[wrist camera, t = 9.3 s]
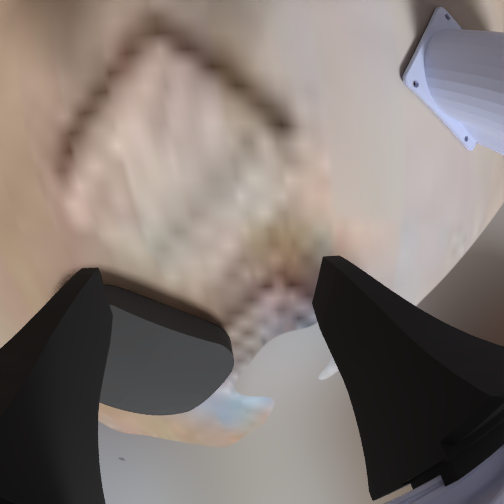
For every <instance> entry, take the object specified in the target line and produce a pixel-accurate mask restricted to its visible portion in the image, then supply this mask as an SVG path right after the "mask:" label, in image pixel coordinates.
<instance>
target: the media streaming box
mask: <svg viewBox="0 0 504 504" xmlns="http://www.w3.org/2000/svg"><path fill="white" fill-rule="evenodd" d="M104 289H105V292H106V295H107V298H108V302H109V305H110V308H111V311H112V314H113V320H112V332H111V341H110V347H109V352H108V357H107V362H106V367H105V372H104V377H103V382H102V388H101V394H100V400H99V402H100V403H102V404H105V405H108V406H111V407H114V408H117V409H121V410H125V411H129V412H134V413H139V414H146V415H173V414H179V413H184V412H188V411H190V410H192V409H194V408H195V407H197V406H198V405H200V404H201V403H203V402H204V401H205V400H206V399H208V398H209V397H210V396H211V395H212V394H213V393H214V392H215V391H216V390H217V389H218V388H219V387H220V386H221V384H222V383H223V382H224V381H225V380H226V378H227V377H228V376H229V374H230V373H231V372H232V369H233V366H234V358H233V352H232V346H231V341H230V338H229V336H228V335H227V333H226V332H225V331H224V330H223V329H221V328H220V327H218V326H217V325H214V324H212V323H209V322H207V321H205V320H202V319H200V318H197V317H195V316H192V315H190V314H187V313H185V312H182V311H180V310H177V309H174V308H172V307H169V306H167V305H164V304H162V303H159V302H156V301H154V300H151V299H149V298H146V297H143V296H141V295H138V294H135V293H133V292H130V291H127V290H125V289H122V288H119V287H116V286H110V285H104Z"/></svg>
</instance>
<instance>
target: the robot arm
mask: <svg viewBox="0 0 504 504" xmlns="http://www.w3.org/2000/svg"><path fill="white" fill-rule="evenodd" d="M445 16H446V17H445ZM414 81H415V86H414V85H413V82H414ZM403 82H404V84H405V85H406V86H407V87H408V88H409V89H411V90H412V91H413V92H414V93H415V94H416V95H417V96H418V97H419V98H420V99H421V100H422V101H423V102H424V103H425V104H426V105H427V106H428V107H429V108H430V109H431V110H432V111H433V112H434V113H435V114H436V115H437V116H438V117H439V118H440V119H441V120H442V121H443V122H444V123H445V125H446V126H447V127H448V128H449V129H450V130H451V131H452V132H453V133H454V135H455V136H456V137H457V138H458V139H459V140H460V142H461V143H462V144H463V145H464V146H465V148H466V149H468V150H470V151H472V150H473V149H474V147H475V145H476V143H478V144H481V145H483V146H485V147H487V148H489V149H492V150H494V151H496V152H498V153H500V154H502V155H504V33H503V32H494V31H482V30H463V29H462V28H461V27H460V26H459V24H458V23H457V22H456V21H455V20H454V19H453V17H452V16H451V15H450V14H449V13H448V12H447V11H446V10H445V9H444V8H443V7H437V8H436V9H435V11H434V13H433V15H432V18H431V20H430V22H429V24H428V26H427V28H426V30H425V32H424V34H423V36H422V38H421V40H420V43H419V45H418V47H417V49H416V51H415V53H414V55H413V57H412V59H411V60H410V62H409V64H408V66H407V68H406V70H405V72H404V74H403ZM312 304H313V308H314V311H315V315H316V318H317V321H318V324H319V327H320V330H321V332H322V334H323V337H324V339H325V341H326V343H327V345H328V348H329V350H330V352H331V354H332V356H333V358H334V361H335V363H336V365H337V367H338V369H339V371H340V374H341V376H342V378H343V380H344V383H345V385H346V388H347V390H348V393H349V397H350V400H351V403H352V406H353V410H354V413H355V417H356V421H357V425H358V429H359V433H360V437H361V441H362V446H363V451H364V456H365V462H366V469H367V476H368V486H369V492H370V495H371V498H372V500H377V499H379V498H381V497H383V496H386V495H388V494H390V493H392V492H395V491H397V490H399V489H401V488H403V487H405V486H407V485H409V484H411V486H412V488H413V490H411V491H409V492H407V493H405V494H404V495H402V496H399V497H397V498H395V499H393V500H391V501H389V502H386V503H384V504H504V346H500V345H497V344H494V343H491V342H488V341H486V340H483V339H480V338H477V337H475V336H472V335H470V334H468V333H465V332H463V331H461V330H459V329H457V328H454V327H452V326H450V325H448V324H446V323H444V322H442V321H440V320H439V319H437V318H435V317H433V316H431V315H429V314H428V313H426V312H424V311H423V310H421V309H419V308H417V307H416V306H414V305H413V304H411V303H410V302H408V301H406V300H405V299H403V298H402V297H400V296H399V295H397V294H396V293H394V292H393V291H391V290H390V289H388V288H387V287H386V286H384V285H383V284H381V283H380V282H378V281H377V280H375V279H374V278H373V277H371V276H370V275H368V274H367V273H366V272H364V271H363V270H361V269H360V268H358V267H357V266H355V265H354V264H352V263H351V262H349V261H348V260H346V259H344V258H343V257H341V256H325V257H323V259H322V264H321V268H320V272H319V277H318V281H317V285H316V290H315V294H314V298H313V302H312ZM112 320H113V314H112V311H111V308H110V305H109V302H108V298H107V295H106V292H105V289H104V285H103V282H102V278H101V275H100V271H99V268H82V269H81V270H79V271H78V272H77V273H76V274H75V275H74V276H73V277H72V278H71V279H70V280H69V281H68V282H67V283H66V284H65V285H64V286H63V287H62V288H61V289H60V290H59V291H58V292H57V293H56V294H55V295H54V296H53V297H52V298H51V299H50V300H49V301H48V302H47V303H46V304H45V305H44V307H43V308H42V309H41V310H40V311H39V312H38V313H37V314H36V315H35V316H34V317H33V318H32V319H31V320H30V321H29V322H28V323H27V324H26V325H25V326H24V327H23V328H22V329H21V330H20V331H19V332H18V333H17V334H16V335H15V336H14V337H13V338H12V339H10V340H9V341H8V342H7V343H6V344H5V345H4V346H3V347H2V348H0V504H105V499H104V494H103V488H102V482H101V474H100V465H99V450H98V410H99V400H100V394H101V388H102V382H103V377H104V372H105V367H106V362H107V357H108V352H109V347H110V341H111V332H112Z"/></svg>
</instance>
